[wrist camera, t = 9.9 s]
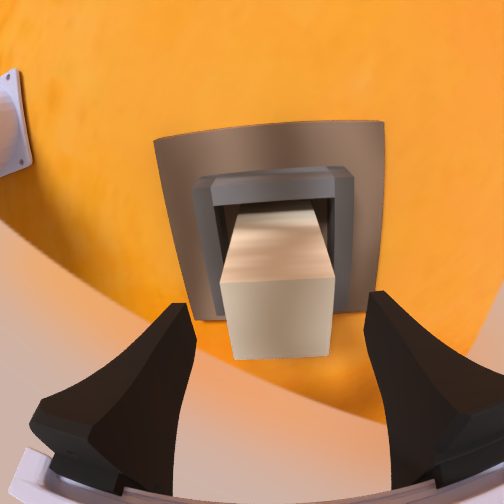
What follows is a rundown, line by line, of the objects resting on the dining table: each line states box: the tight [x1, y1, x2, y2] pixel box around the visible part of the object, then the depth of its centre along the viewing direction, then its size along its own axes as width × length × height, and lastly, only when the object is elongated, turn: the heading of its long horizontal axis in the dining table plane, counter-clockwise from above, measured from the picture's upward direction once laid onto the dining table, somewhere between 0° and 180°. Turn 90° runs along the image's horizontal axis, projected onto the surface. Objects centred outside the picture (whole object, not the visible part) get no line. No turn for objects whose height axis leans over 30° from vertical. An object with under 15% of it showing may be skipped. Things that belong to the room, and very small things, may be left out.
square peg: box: [220, 200, 335, 360], centre depth 15 cm, size 4×4×8 cm
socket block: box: [153, 120, 385, 320], centre depth 18 cm, size 13×13×4 cm
